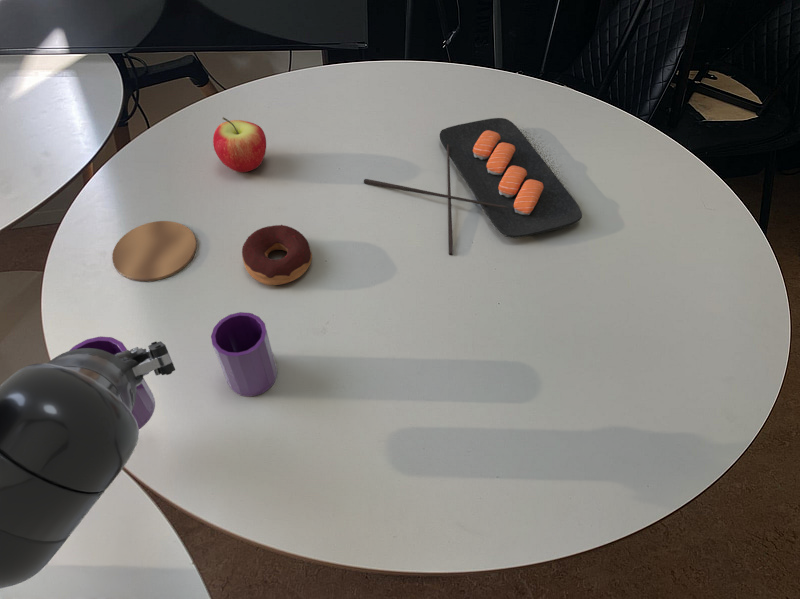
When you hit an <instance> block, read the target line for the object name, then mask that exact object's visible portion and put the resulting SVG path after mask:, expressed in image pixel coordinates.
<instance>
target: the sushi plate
mask: <svg viewBox="0 0 800 599" xmlns="http://www.w3.org/2000/svg"><path fill="white" fill-rule="evenodd" d="M439 140H440V142H441V144H442V146H443V148H444V149H445V151H446V159H447V162H446V163H447V165H446V166H447V168H446V169H447V194H443V193H439V192H433V191H430V190H429V191H428V190H424V189H418V188H414V187H411V186H410V187H409V186H405V185H400V184H394V183H389V182H385V181H379V180H374V179H368V178H364V179H363V184H366V185H370V186H377V187H382V188H386V189H387V188H388V189H392V190H398V191H405V192H412V193H416V194H422V195H429V196H434V197H440V198H446V199H447V224H448V226H447V227H448V228H447V230H448V231H447V232H448V233H447V234H448V235H447V236H448V255H449V256H453V254H454V244H453V242H454V241H453V218H452V215H453V214H452V200H457V201H461V202H466V203H473V204H479V205H480V206H481V208H482V210H483V211H484V212H485V214H486V216H487V217H488V218H489V220H490V222H491V223H492V224H493V226H494V227H495V228H496V230H497V231H498V232H499V233H500V234H502V235H503V236H505V237H508V238H525V237H529V236H534V235H539V234H542V233H547V232H550V231H555V230H558V229H562V228H565V227H568V226H572V225H574V224H576V223H578V222H579V221H580V220H581V219H582V218H583V216H582V215H583V213H582V210H581V207H580V206H579V204H578V203H577V201H576V200H575V199H574V197H573V196H572V194H571V193H570V192H569V191H568V189H567V188H566V187H565V186H564V184H563V183H562V181H561V180H560V179H559V178H558V177H557V176H556V174H555V173H554V172H553V170H552V169H551V168H550V166H548V164H547V163H546V162H545V160H544V159H543V158H542V157H541V155H540V154H539V153H538V151H537V150H536V149H535V147H533V145H532V144H531V142H529V140H528V139H527V137H526V136H525V135H524V134H523V132H522V131H521V130H520V128H518V127H517V126H516V124H515V123H514V122H512V121H511V120H510V119H508V118H504V117H493V118H486V119H480V120H476V121H470V122H465V123H460V124H456V125H452V126H448V127H446V128H443V129H442V130H441V131H440V132H439ZM450 159H451V160H450ZM450 161H452V162H453V164H454V166H455V167H456V169H457V170H458V171H459V174H460V175H461V176H462V178H463V179H464V181H465V183H466V184H467V186H468V187H469V188H470V191H471V192H472V194H473V196H474V197H475V198H476V199H475V200H474V199H470V198H464V197H460V196H453V195H452V192H451V169H450V168H451V165H450V164H451V163H450Z"/></svg>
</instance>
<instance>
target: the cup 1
mask: <svg viewBox="0 0 800 599" xmlns="http://www.w3.org/2000/svg"><path fill="white" fill-rule="evenodd" d="M81 348H94V349H100V350H103V351H106V352H109V353H111V354H113V355H114V354H116V353H119V352H122V351H126V350H128V348H127V347H126V345H125V344H124V343H123V342H122V341H120V340H119V339H117V338H115V337H112V336H96V337H92V338H87V339H85V340H82V341H81V342H79V343H77V344H75V345H74V346H72V348H70V349H69V350H68V351H71V350H75V349H81ZM155 409H156V399H155V396H154V393H153V392H152V390H151V388H150V386H149V385H148V383H147V381H146V379H145V377H143V380H142V383H141V384H140V385H139V386H137V387H136V400H135V404H134V407H133V410H132V414H133V416H134V418H135V420H136V422H137V425H138V429H139V430H140V429H142V428H143V427H145V426H146V425H147V423H148V422H149V421H150V420H151V418H152V417H153V415H154V412H155Z"/></svg>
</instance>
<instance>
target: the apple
mask: <svg viewBox="0 0 800 599" xmlns="http://www.w3.org/2000/svg"><path fill="white" fill-rule="evenodd" d="M222 120H224V122H222V123H220V124H219V125H218V126H217V127H216V129H215V131H214V133H213V136H212V137H213V138H212V143H213V144H212V145H213V149H214V152H215V154H216V155H217V158H218V160H220V162H221V163H222V164H223V165H225V167H227V168H228V169H230V170H232V171H234V172H236V173H237V172H238V173H247V172H251V171H253V170H255V169H257V168H258V167H259V166H260V165H261V164H262V162H263V160H264V158H265V155H266V152H267V138H266V134H265V132H264V130H263V128H262V127H261V126H259V125H258V124H256V123H254V122H250V121H247V120H242V119H232V120H228V118H226V117H224V116H222Z"/></svg>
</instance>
